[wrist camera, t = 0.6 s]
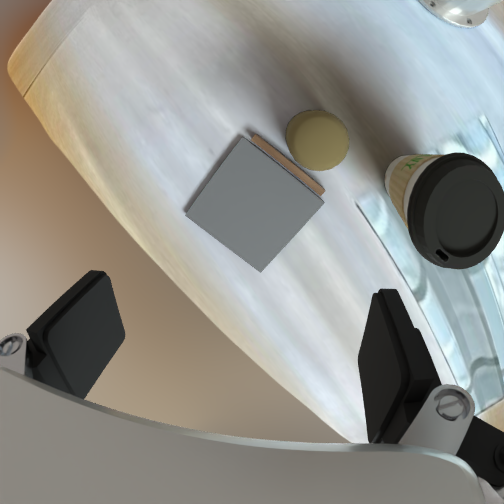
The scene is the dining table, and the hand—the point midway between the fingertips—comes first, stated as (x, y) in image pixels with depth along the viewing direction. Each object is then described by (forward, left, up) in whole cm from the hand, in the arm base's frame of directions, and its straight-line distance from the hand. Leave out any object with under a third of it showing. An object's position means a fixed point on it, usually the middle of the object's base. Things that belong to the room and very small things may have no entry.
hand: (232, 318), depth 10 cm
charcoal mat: (+5, 0, -27) cm, 28 cm away
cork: (-6, 0, -27) cm, 28 cm away
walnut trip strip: (-2, 0, -27) cm, 27 cm away
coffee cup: (-10, +12, -27) cm, 31 cm away
